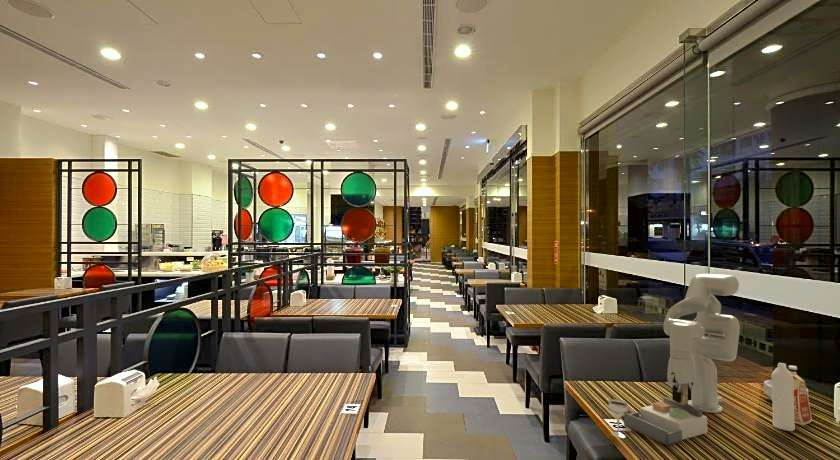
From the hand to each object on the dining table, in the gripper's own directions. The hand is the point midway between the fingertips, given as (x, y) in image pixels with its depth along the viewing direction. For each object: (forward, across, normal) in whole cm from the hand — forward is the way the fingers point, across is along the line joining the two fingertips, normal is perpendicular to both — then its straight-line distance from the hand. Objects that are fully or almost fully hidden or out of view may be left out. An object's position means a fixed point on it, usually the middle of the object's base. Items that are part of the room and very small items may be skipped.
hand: (682, 399), depth 163 cm
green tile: (+4, +7, +4) cm, 9 cm away
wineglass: (+10, +30, -4) cm, 32 cm away
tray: (+10, +18, 0) cm, 20 cm away
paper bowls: (+10, -66, +3) cm, 67 cm away
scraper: (+4, 0, 0) cm, 4 cm away
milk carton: (+10, -48, +14) cm, 51 cm away
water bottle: (+10, -34, +18) cm, 40 cm away
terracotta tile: (+4, +7, -4) cm, 9 cm away
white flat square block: (+10, +6, 0) cm, 11 cm away
